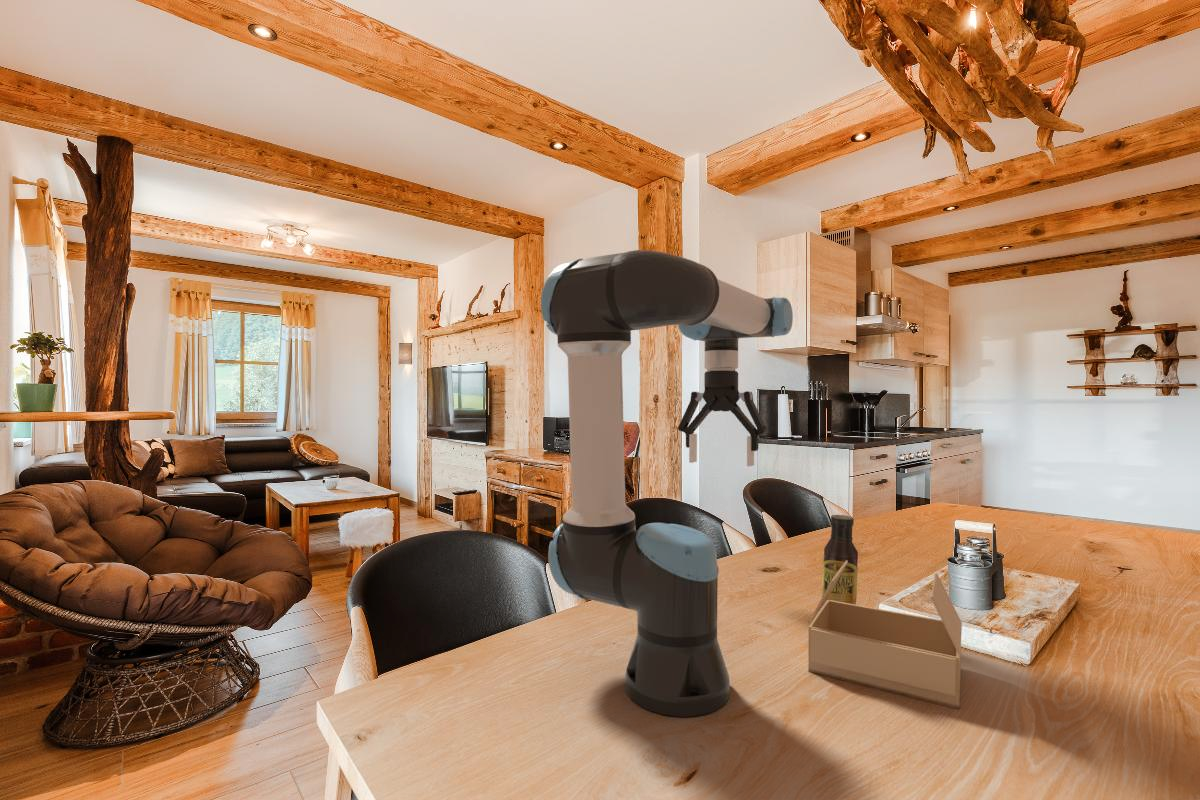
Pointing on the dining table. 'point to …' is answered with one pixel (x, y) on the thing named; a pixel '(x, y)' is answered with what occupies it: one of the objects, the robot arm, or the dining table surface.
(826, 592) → the flap inner
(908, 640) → the carton
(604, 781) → the dining table surface
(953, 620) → the flap outer
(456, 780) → the dining table surface
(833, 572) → the sauce bottle
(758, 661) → the dining table surface
